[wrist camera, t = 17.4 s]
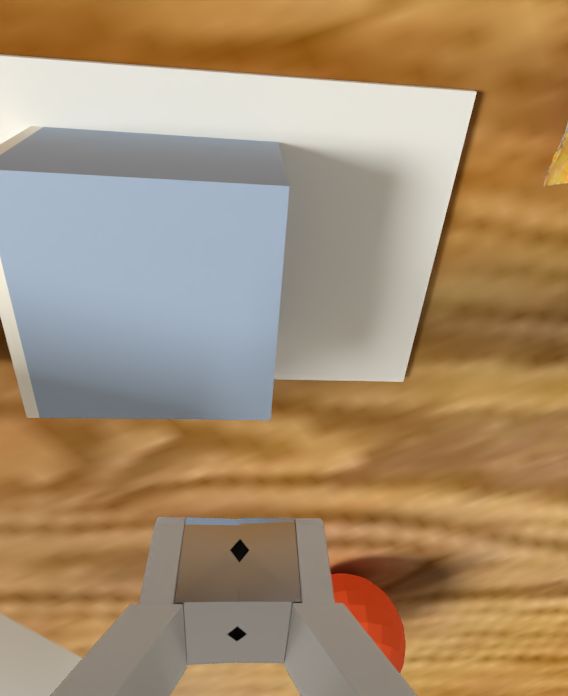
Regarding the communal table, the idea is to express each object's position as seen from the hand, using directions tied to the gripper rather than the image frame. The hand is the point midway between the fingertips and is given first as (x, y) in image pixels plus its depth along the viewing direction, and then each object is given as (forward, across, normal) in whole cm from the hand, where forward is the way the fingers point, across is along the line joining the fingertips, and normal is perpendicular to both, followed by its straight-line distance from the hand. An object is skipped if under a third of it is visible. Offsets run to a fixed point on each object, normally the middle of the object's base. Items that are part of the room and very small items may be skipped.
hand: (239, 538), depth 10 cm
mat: (+13, -1, +1) cm, 13 cm away
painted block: (+10, +1, +1) cm, 10 cm away
